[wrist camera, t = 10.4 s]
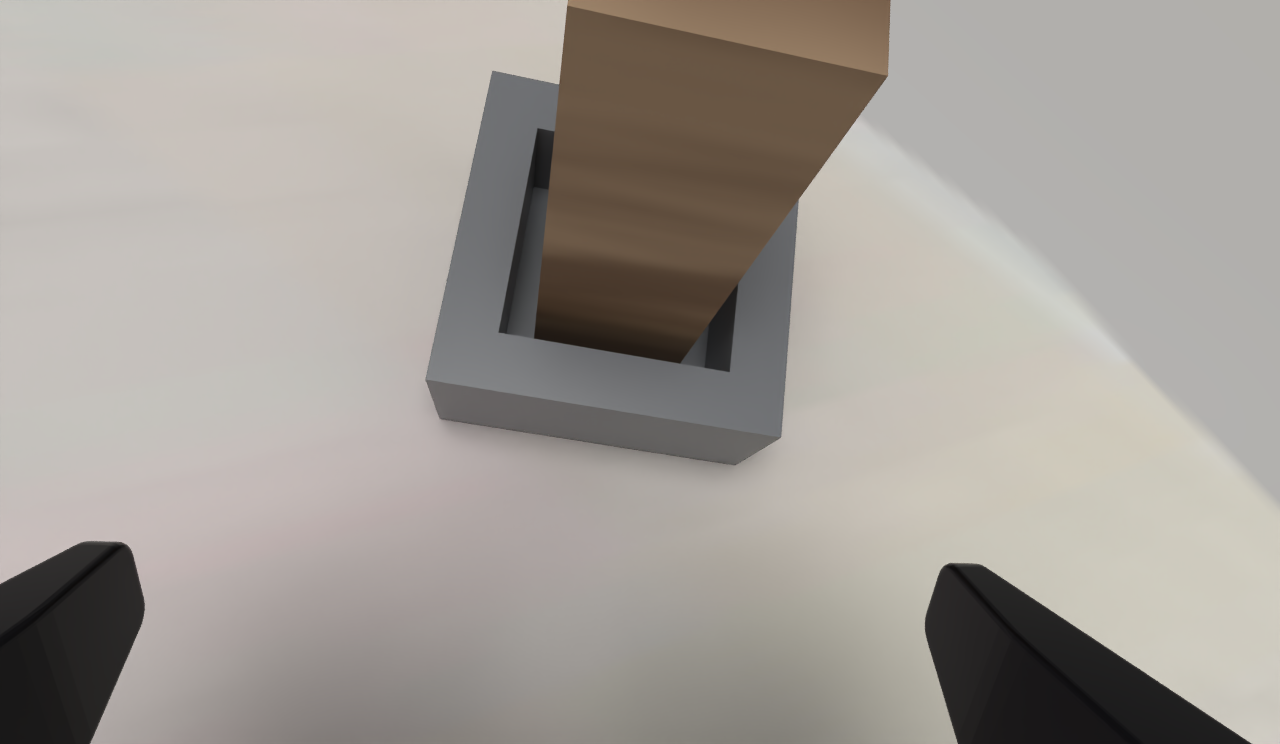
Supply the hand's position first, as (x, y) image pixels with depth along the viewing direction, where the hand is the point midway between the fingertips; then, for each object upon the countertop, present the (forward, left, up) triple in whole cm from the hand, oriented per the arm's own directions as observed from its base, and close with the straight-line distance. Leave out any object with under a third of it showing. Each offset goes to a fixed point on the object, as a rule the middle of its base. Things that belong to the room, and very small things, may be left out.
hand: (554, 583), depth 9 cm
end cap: (+6, -6, -13) cm, 15 cm away
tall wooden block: (+6, -6, -12) cm, 14 cm away
